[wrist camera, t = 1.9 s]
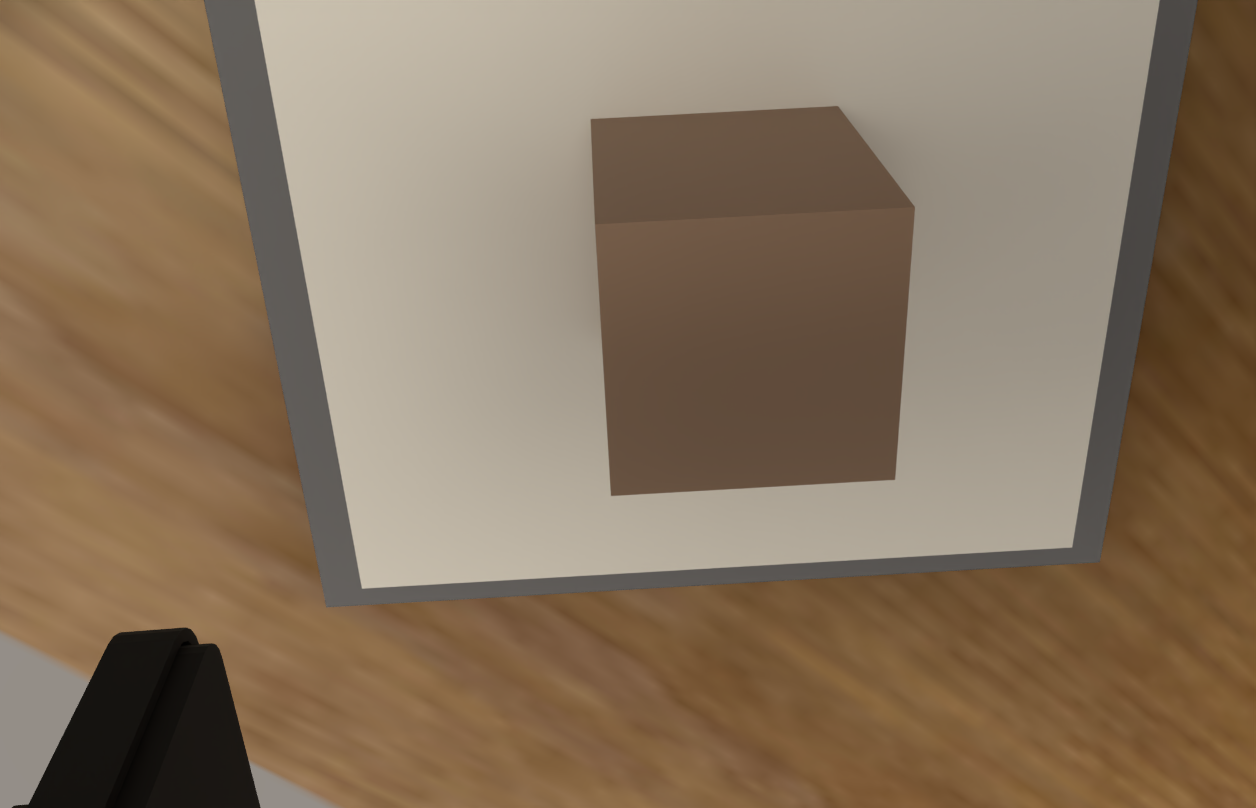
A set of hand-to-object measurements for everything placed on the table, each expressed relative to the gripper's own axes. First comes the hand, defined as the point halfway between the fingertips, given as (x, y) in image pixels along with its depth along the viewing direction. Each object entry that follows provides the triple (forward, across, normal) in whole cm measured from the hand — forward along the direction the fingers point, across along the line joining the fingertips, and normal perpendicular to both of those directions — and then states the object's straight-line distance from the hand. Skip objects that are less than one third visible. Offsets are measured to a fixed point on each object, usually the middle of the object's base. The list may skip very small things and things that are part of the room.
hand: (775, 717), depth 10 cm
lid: (+12, -1, 0) cm, 12 cm away
